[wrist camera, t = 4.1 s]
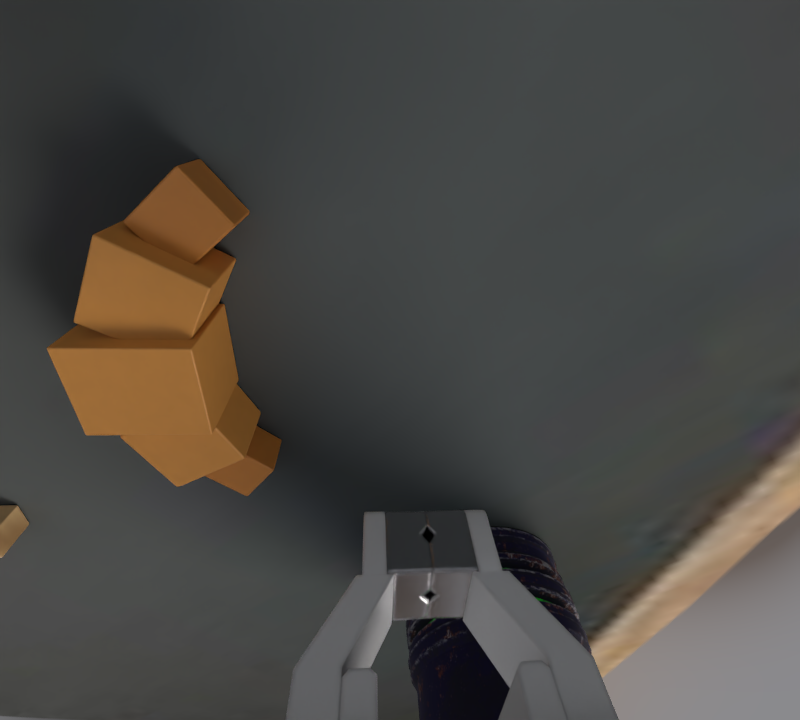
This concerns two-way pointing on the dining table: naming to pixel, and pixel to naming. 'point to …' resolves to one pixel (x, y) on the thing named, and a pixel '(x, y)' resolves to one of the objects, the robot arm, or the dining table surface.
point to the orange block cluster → (166, 338)
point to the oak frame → (10, 526)
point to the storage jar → (461, 653)
